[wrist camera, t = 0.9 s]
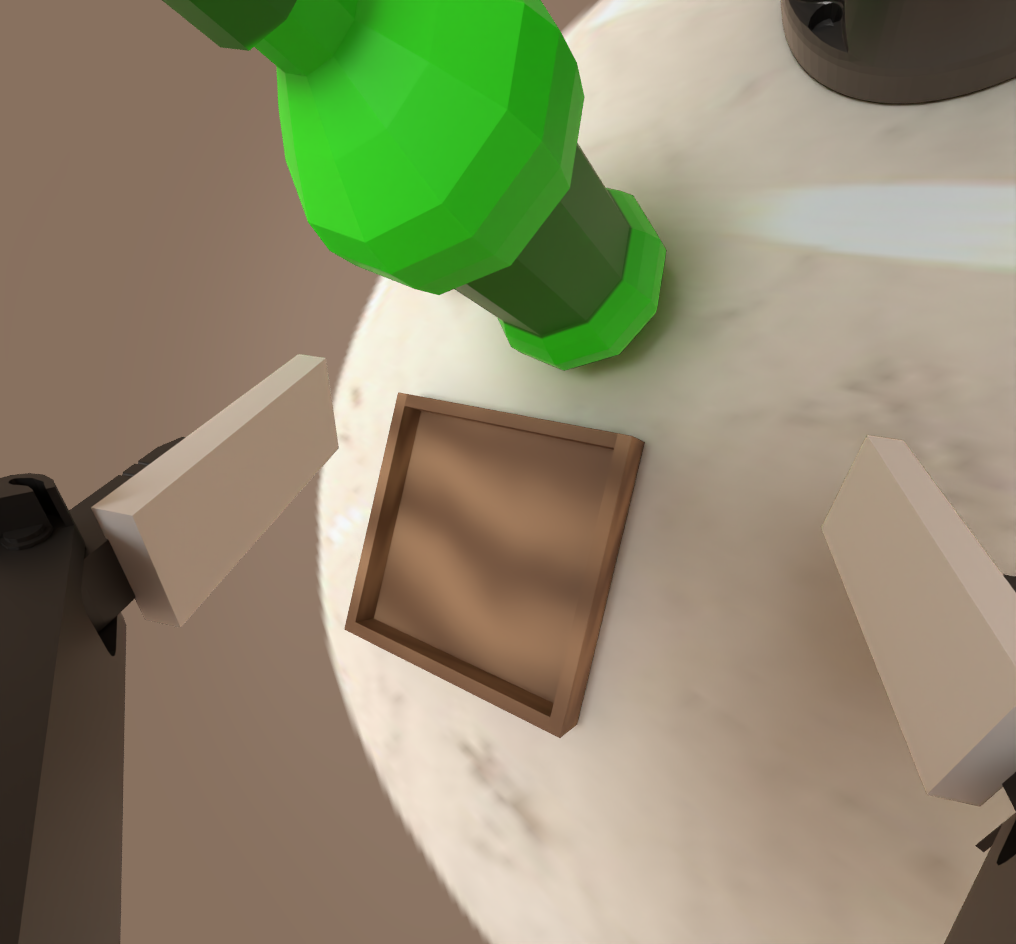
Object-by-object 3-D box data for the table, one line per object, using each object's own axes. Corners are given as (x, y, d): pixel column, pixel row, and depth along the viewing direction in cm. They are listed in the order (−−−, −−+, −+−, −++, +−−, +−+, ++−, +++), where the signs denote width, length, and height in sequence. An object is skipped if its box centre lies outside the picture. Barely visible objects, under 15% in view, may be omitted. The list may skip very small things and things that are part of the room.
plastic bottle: (725, 276, 30) (479, -384, 8) (594, 422, 33) (158, 216, 11) (601, 188, 34) (219, -407, 12) (494, 325, 37) (34, 36, 15)
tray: (420, 399, 40) (398, 392, 37) (644, 442, 31) (632, 436, 29) (369, 624, 40) (344, 629, 38) (577, 724, 32) (560, 738, 30)
